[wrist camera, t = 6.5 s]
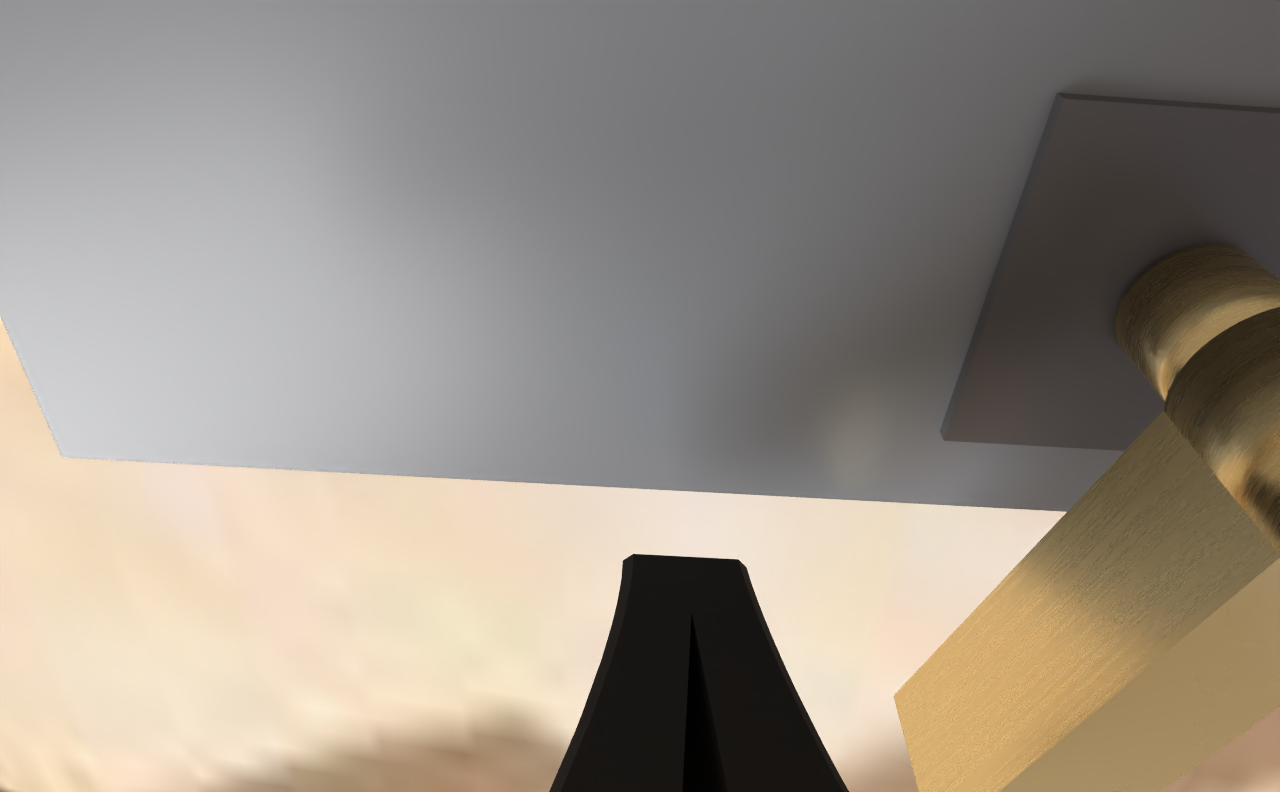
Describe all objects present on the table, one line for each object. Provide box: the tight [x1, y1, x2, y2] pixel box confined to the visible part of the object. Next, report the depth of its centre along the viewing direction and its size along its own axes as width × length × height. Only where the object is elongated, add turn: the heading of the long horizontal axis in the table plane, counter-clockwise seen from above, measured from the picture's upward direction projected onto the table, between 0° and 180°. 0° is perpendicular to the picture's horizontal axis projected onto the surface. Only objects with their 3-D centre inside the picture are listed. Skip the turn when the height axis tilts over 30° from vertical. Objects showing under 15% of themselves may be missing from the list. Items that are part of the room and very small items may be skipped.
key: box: [894, 245, 1280, 792], centre depth 10 cm, size 7×2×4 cm, turn 159°
